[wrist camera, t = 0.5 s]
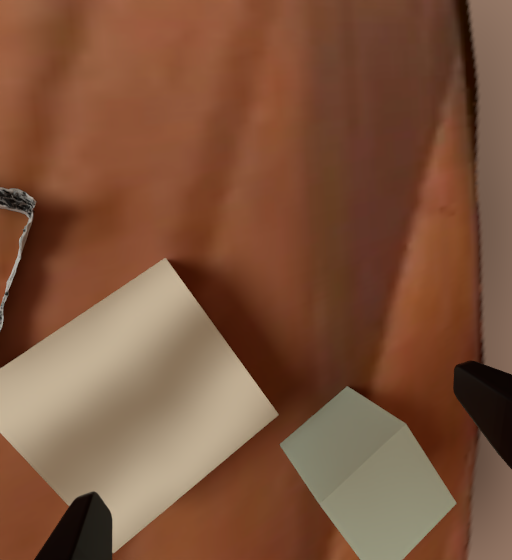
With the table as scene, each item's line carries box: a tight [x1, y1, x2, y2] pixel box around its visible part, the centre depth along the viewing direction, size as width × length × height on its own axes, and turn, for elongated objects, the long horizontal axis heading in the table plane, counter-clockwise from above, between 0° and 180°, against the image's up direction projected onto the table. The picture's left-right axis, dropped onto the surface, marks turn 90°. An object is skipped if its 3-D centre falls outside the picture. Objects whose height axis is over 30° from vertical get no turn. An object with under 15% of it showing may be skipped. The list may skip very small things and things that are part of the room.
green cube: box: [279, 386, 456, 560], centre depth 21 cm, size 6×6×6 cm
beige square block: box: [0, 258, 279, 553], centre depth 18 cm, size 10×10×4 cm
